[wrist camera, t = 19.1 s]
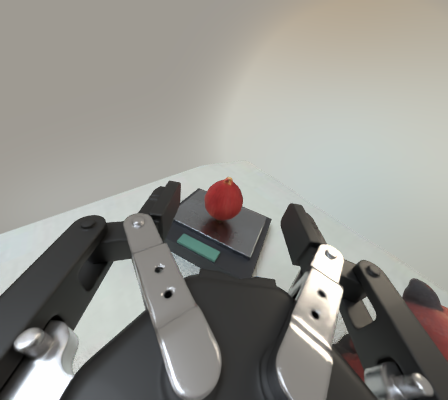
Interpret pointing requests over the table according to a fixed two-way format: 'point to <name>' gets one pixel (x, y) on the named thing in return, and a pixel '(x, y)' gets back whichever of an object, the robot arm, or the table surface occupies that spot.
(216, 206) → the onion
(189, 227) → the scale
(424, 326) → the stuffed fox
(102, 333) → the table surface
